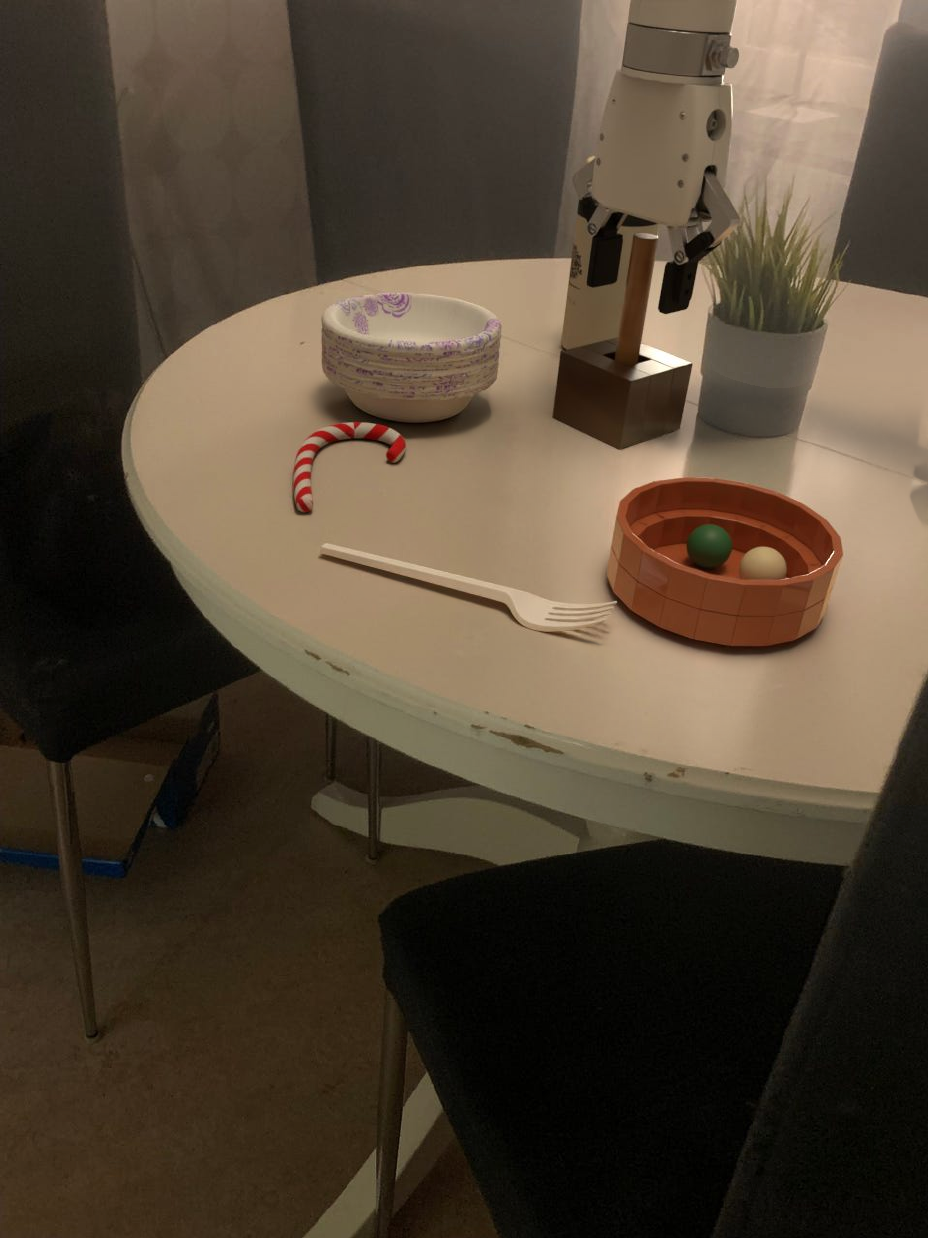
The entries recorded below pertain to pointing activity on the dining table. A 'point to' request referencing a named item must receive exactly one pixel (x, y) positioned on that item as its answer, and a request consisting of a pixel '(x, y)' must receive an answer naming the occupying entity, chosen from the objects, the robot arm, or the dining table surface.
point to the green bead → (709, 546)
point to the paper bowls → (410, 353)
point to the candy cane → (333, 434)
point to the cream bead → (762, 565)
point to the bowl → (718, 598)
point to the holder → (621, 393)
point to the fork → (488, 593)
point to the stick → (636, 298)
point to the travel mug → (599, 307)
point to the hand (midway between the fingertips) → (636, 295)
